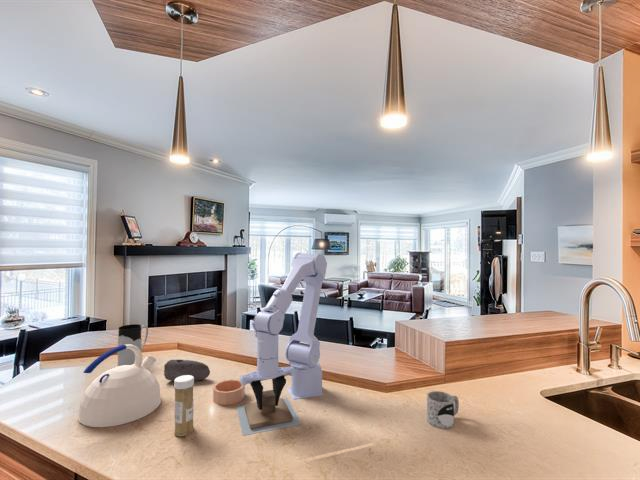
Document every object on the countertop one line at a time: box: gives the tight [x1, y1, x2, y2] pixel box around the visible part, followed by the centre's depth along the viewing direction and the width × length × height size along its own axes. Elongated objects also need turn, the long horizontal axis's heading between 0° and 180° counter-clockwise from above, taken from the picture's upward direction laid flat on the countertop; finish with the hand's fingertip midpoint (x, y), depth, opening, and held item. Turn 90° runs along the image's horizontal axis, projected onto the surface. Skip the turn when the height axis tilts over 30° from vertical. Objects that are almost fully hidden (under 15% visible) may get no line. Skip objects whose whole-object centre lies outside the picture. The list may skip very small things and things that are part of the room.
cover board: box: [244, 389, 293, 429], centre depth 89 cm, size 11×11×6 cm
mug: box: [426, 390, 460, 430], centre depth 87 cm, size 10×7×7 cm
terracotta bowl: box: [212, 378, 246, 406], centre depth 99 cm, size 9×9×4 cm
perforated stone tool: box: [163, 359, 211, 382], centre depth 113 cm, size 15×5×7 cm, turn 90°
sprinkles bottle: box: [173, 375, 195, 438], centre depth 82 cm, size 5×5×14 cm
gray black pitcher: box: [116, 324, 149, 367], centre depth 128 cm, size 9×14×15 cm, turn 171°
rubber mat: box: [236, 397, 303, 436], centre depth 89 cm, size 15×15×1 cm
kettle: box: [77, 344, 162, 428], centre depth 94 cm, size 20×21×18 cm
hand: (267, 406), depth 89 cm, fingers closed on cover board, 4 cm apart
